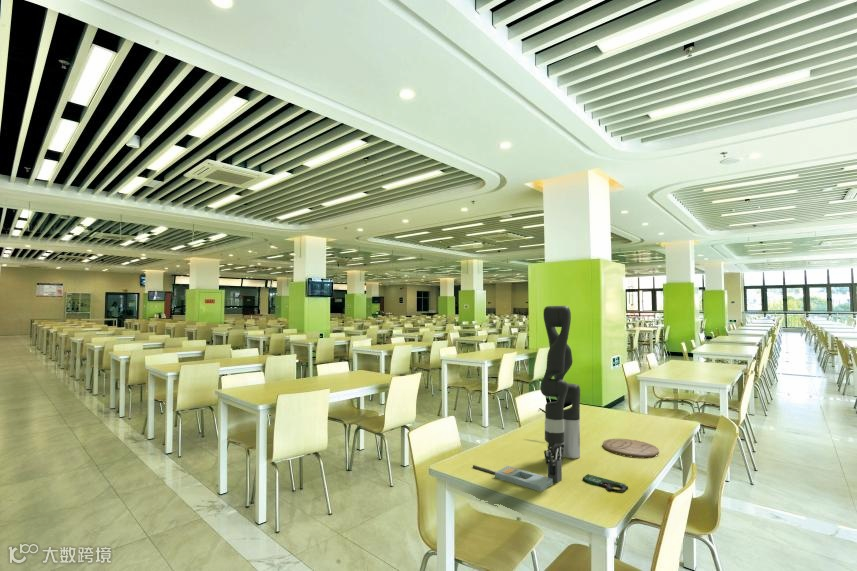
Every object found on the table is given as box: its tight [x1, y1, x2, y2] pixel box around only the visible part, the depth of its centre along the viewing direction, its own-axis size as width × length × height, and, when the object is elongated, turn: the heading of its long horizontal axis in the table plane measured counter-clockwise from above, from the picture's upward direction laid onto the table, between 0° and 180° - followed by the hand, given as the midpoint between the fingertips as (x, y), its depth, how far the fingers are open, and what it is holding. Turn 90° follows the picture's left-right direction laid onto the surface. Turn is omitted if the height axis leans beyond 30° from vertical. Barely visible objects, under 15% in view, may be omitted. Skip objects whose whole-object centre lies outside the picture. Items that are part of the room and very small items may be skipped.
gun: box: [582, 473, 629, 494], centre depth 165 cm, size 16×2×10 cm
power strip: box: [472, 464, 554, 493], centre depth 172 cm, size 10×33×2 cm, turn 48°
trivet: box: [602, 438, 660, 459], centre depth 209 cm, size 25×25×2 cm
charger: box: [547, 459, 563, 484], centre depth 169 cm, size 4×4×8 cm
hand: (554, 473), depth 169 cm, fingers closed on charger, 4 cm apart
